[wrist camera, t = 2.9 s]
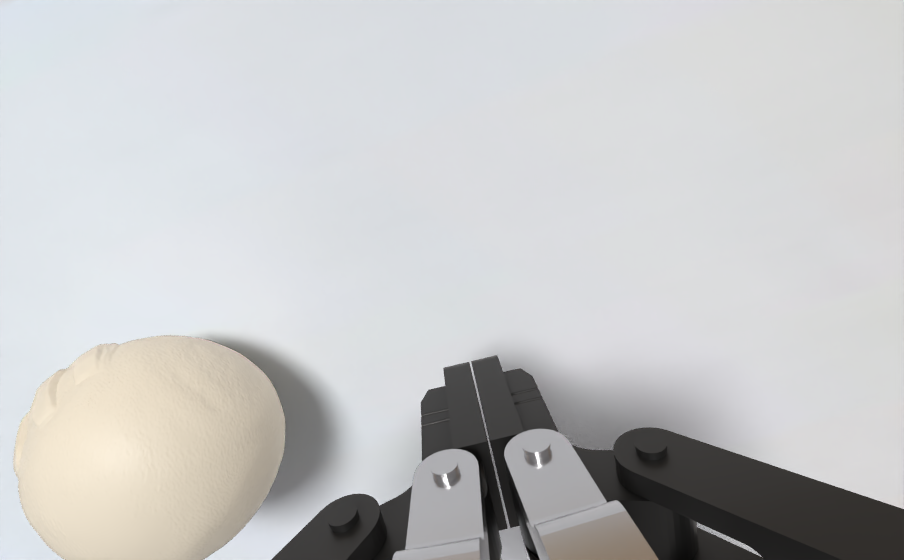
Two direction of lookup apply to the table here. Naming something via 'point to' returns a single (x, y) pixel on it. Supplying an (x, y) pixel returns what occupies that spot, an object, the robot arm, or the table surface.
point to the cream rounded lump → (149, 450)
